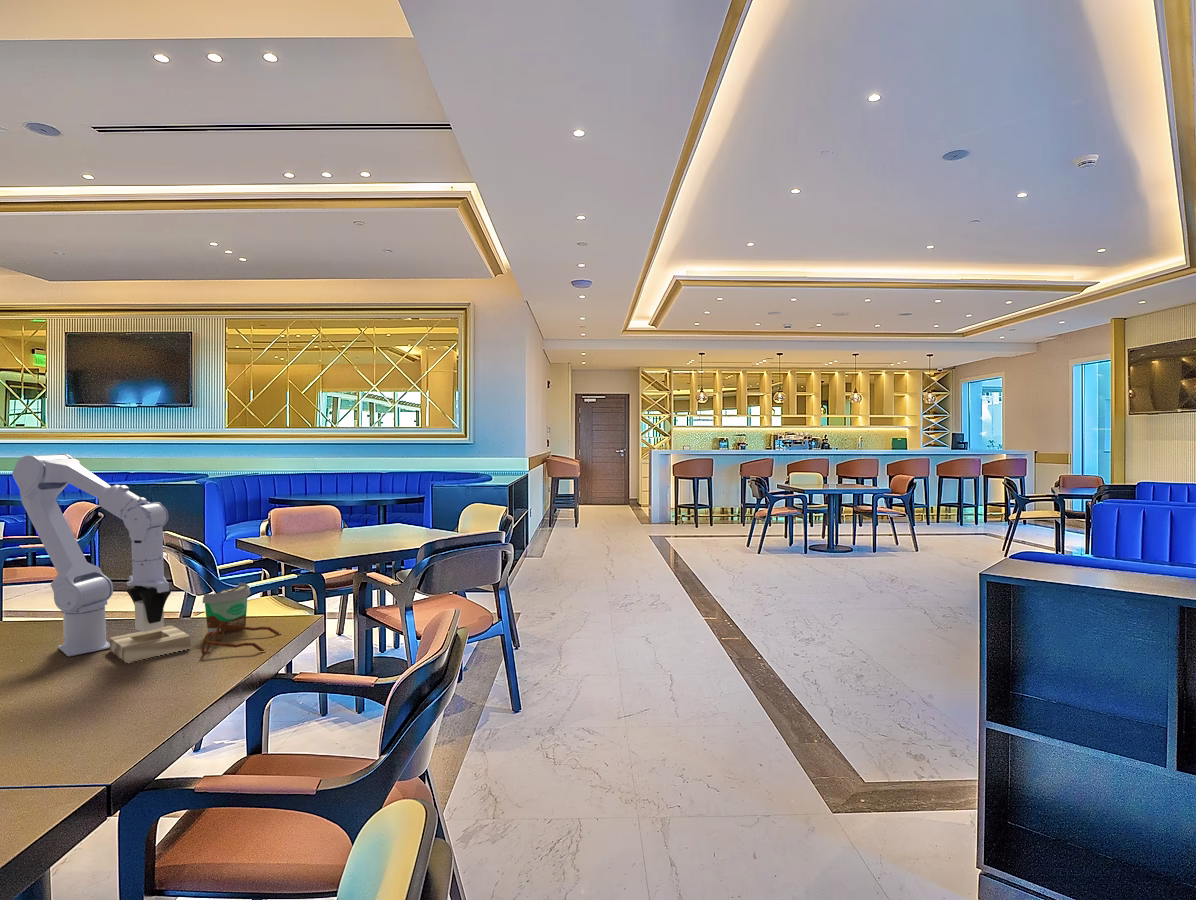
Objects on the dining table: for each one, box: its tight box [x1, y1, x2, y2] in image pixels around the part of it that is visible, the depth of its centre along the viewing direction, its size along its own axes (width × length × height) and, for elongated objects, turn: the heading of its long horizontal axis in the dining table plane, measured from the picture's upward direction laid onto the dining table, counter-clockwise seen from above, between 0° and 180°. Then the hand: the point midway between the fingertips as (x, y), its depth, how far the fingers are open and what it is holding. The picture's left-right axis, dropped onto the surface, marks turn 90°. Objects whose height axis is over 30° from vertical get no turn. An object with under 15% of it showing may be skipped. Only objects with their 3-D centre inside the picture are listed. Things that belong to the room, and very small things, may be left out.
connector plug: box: [134, 600, 165, 632], centre depth 148 cm, size 4×4×6 cm
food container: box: [201, 582, 252, 636], centre depth 163 cm, size 12×6×10 cm, turn 168°
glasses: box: [200, 621, 280, 655], centre depth 152 cm, size 13×13×5 cm
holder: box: [109, 625, 192, 664], centre depth 149 cm, size 12×12×3 cm
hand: (149, 620), depth 148 cm, fingers closed on connector plug, 4 cm apart
